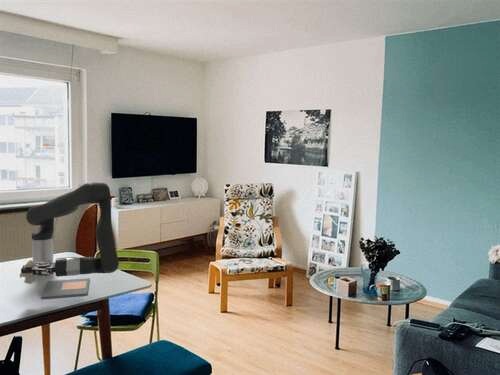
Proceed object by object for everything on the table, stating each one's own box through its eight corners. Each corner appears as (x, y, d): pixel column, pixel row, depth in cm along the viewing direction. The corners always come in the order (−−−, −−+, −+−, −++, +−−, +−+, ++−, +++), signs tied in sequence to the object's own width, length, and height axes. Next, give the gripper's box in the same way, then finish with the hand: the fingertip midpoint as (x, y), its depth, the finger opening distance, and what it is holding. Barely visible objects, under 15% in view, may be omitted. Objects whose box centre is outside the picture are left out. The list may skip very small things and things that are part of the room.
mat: (47, 282, 207) (47, 280, 207) (89, 279, 213) (89, 277, 213) (41, 298, 187) (41, 296, 187) (87, 295, 193) (87, 292, 193)
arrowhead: (19, 286, 180) (18, 261, 178) (19, 284, 182) (18, 260, 181) (41, 283, 183) (41, 259, 182) (41, 281, 186) (40, 257, 184)
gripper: (69, 253, 192) (24, 255, 187) (66, 262, 179) (18, 265, 174) (70, 270, 193) (25, 273, 188) (67, 280, 180) (18, 284, 175)
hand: (22, 269), depth 181 cm, fingers closed on arrowhead, 2 cm apart
